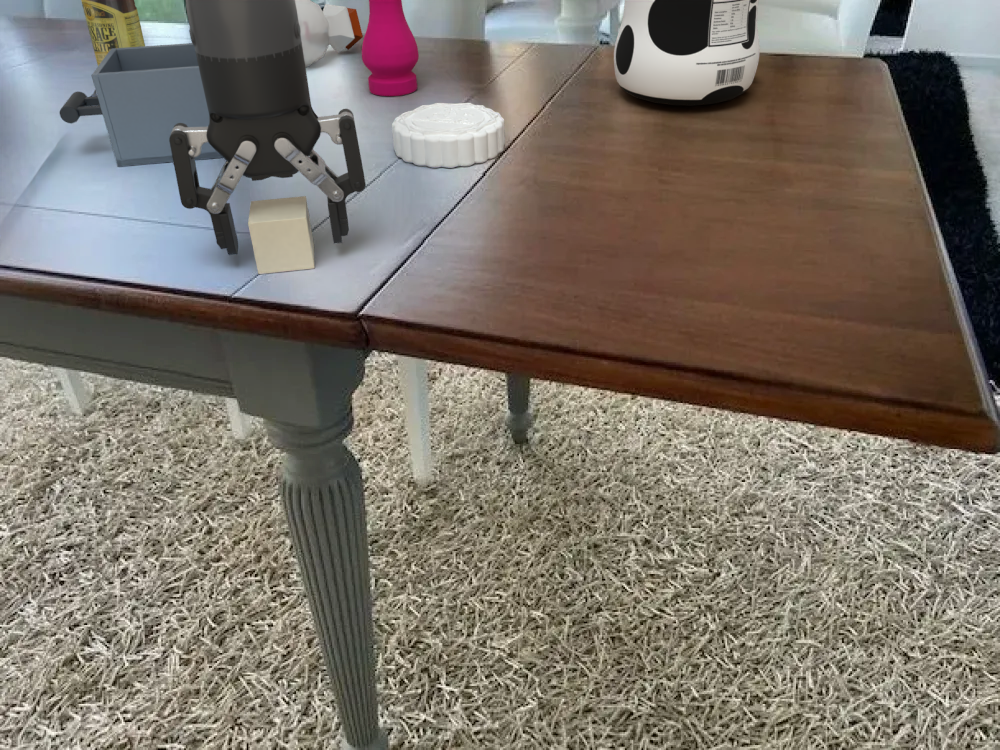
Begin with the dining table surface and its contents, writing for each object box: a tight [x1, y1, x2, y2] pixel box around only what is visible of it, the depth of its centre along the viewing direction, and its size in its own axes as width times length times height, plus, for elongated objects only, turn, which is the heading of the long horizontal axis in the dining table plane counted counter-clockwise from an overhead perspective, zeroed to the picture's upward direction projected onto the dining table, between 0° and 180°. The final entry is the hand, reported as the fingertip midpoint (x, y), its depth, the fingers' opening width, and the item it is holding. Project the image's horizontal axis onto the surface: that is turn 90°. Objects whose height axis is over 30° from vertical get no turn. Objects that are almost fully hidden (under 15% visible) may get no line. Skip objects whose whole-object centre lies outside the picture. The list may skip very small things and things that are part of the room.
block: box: [247, 195, 316, 275], centre depth 70 cm, size 4×4×4 cm
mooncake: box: [391, 102, 506, 169], centre depth 91 cm, size 12×12×4 cm
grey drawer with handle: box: [59, 42, 224, 168], centre depth 92 cm, size 17×11×10 cm, turn 101°
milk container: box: [613, 0, 761, 107], centre depth 101 cm, size 17×17×18 cm
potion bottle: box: [295, 0, 364, 69], centre depth 122 cm, size 9×10×15 cm
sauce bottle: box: [80, 0, 146, 67], centre depth 107 cm, size 7×6×20 cm
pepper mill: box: [361, 0, 420, 97], centre depth 106 cm, size 7×7×20 cm
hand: (285, 245), depth 71 cm, fingers open, 8 cm apart
